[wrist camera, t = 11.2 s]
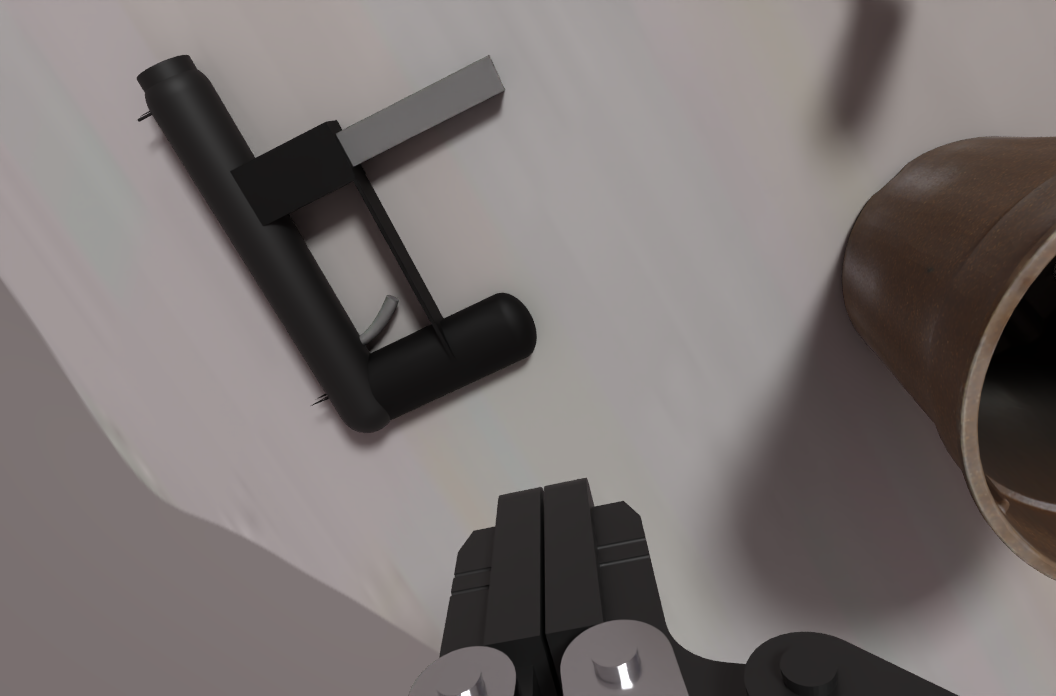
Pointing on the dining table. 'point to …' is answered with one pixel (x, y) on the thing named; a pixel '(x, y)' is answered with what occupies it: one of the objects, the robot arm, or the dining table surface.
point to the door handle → (289, 267)
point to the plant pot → (972, 318)
